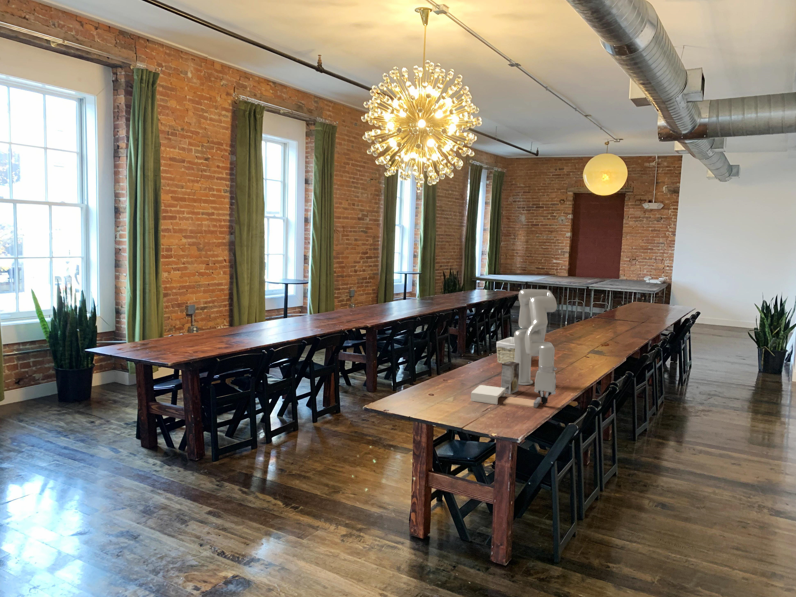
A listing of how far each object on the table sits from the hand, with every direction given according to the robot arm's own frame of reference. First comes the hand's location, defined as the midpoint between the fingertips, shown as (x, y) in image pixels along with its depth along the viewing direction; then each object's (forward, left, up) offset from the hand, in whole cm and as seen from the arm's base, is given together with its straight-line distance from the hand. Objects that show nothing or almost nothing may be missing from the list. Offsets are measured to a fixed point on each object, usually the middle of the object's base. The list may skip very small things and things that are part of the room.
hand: (544, 404), depth 297 cm
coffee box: (-19, -22, -1) cm, 29 cm away
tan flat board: (0, -11, -1) cm, 11 cm away
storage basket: (-97, -38, -1) cm, 104 cm away
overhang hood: (0, -29, -1) cm, 29 cm away
